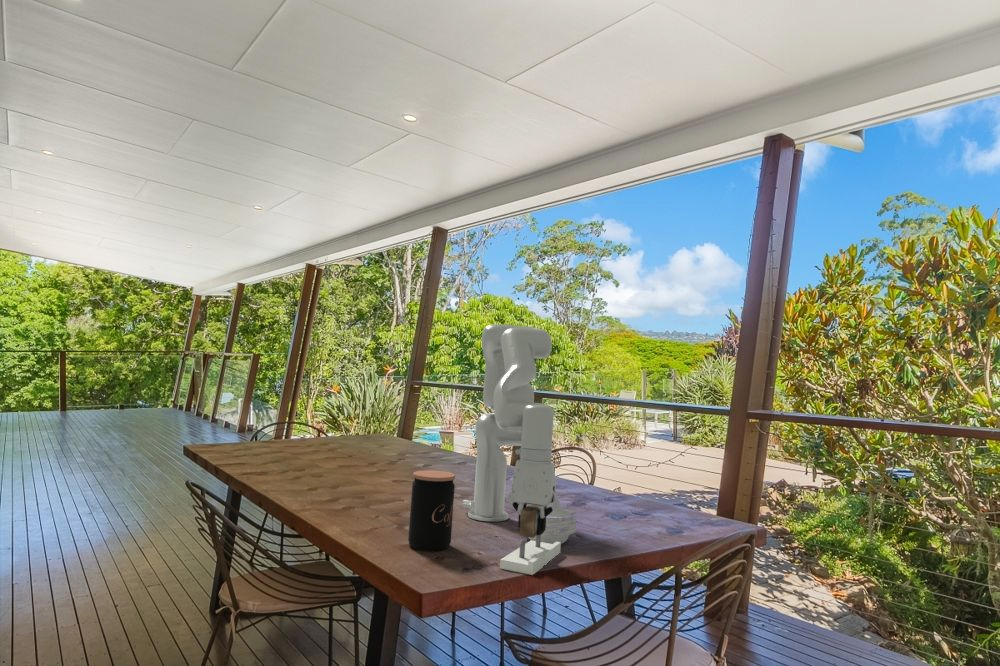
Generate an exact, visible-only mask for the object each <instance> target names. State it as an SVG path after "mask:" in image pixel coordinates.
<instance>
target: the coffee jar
mask: <svg viewBox="0 0 1000 666" xmlns="http://www.w3.org/2000/svg"><path fill="white" fill-rule="evenodd" d="M412 475H413V478H414V480H413V482H412V483H411V495H410V496H411V500H410V512H409V523H408V526H409V527H408V539H407V541H408V543H409V545H410V547H411V548H412V549H414V550H417V551H421V552H441V551H444V550H446V549H448V547H449V546H450V544H451V542H452V531H453V530H452V529H453V527H452V526H453V516H454V515H453V513H454V503H455V502H454V501H455V500H454V499H455V498H454V497H455V489H456V487H455V484H454V480H455V479H456V474H455V473H453V472H449V471H443V470H431V469H429V470H417V471H414V472H413V473H412Z"/></svg>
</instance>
